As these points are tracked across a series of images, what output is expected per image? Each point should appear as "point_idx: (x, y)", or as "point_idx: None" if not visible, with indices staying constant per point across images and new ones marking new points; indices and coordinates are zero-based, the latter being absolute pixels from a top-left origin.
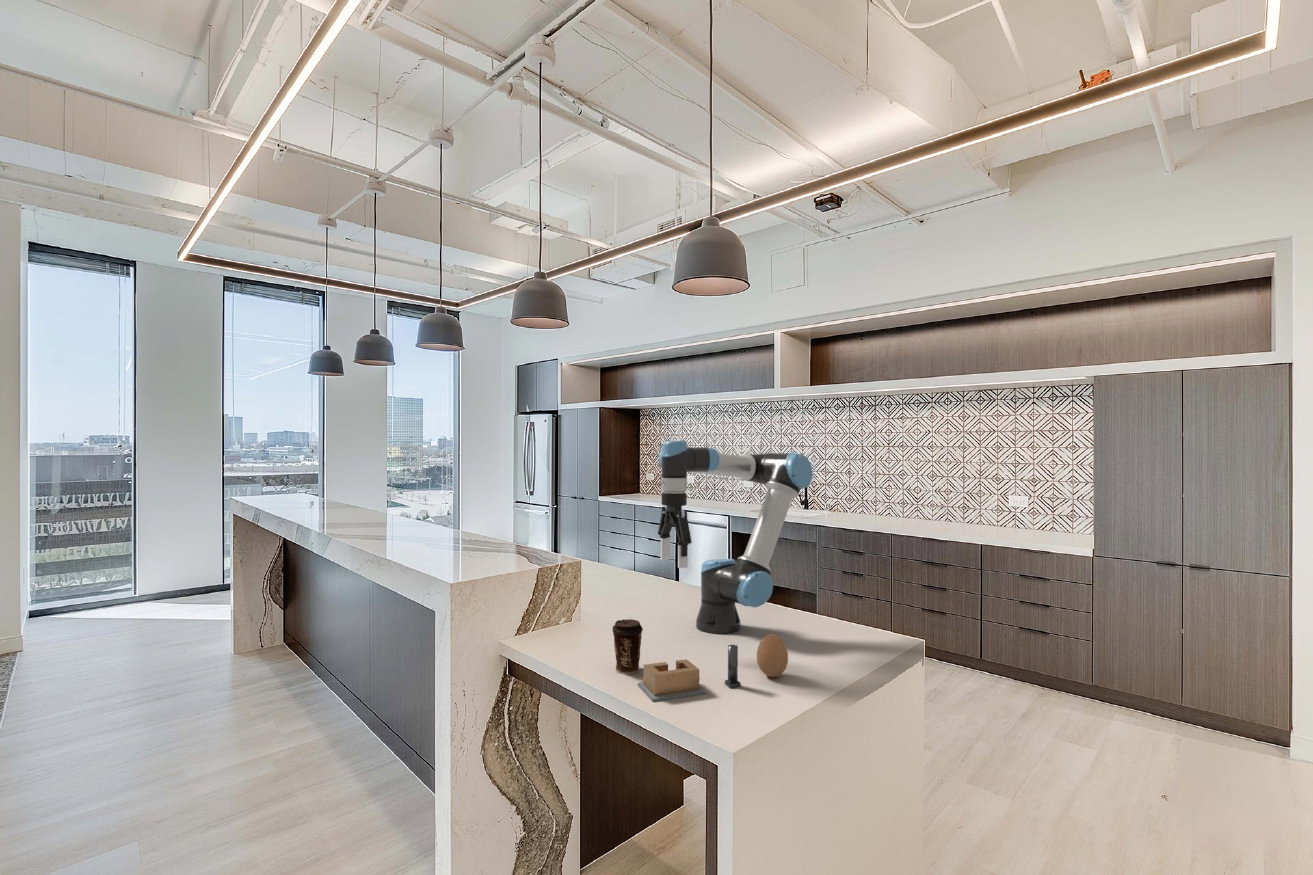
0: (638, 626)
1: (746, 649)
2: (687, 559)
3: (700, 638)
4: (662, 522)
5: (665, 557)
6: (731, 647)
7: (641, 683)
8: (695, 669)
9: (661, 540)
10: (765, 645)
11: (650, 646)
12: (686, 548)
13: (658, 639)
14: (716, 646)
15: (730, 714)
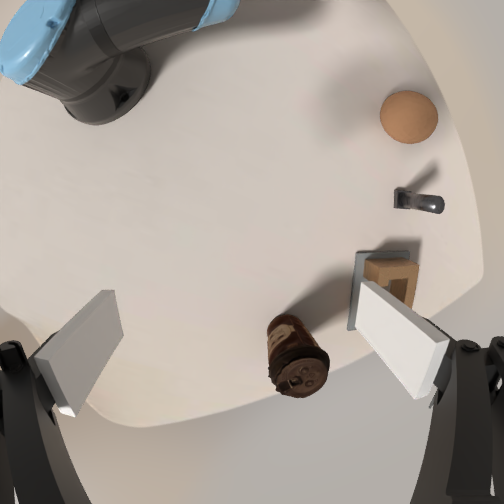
0: (323, 360)
1: (258, 80)
2: (393, 297)
3: (157, 137)
4: (8, 497)
5: (115, 321)
6: (441, 210)
7: (352, 326)
8: (417, 270)
9: (76, 406)
10: (429, 133)
11: (175, 257)
12: (449, 342)
13: (137, 227)
14: (219, 125)
15: (452, 247)
